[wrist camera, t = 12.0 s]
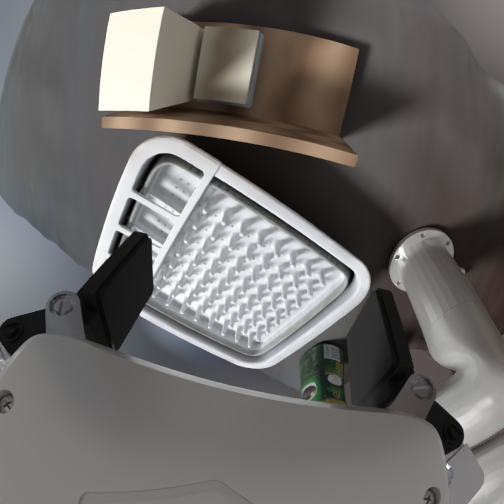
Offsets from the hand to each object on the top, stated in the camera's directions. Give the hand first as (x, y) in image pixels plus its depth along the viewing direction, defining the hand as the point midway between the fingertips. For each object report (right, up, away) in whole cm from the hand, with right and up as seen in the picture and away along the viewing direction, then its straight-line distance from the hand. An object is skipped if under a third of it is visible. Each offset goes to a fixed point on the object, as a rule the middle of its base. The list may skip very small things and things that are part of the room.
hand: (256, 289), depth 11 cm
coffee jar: (+15, -20, +46) cm, 52 cm away
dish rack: (-4, +1, +35) cm, 35 cm away
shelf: (-1, +24, +19) cm, 30 cm away
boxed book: (-8, +24, +17) cm, 31 cm away
